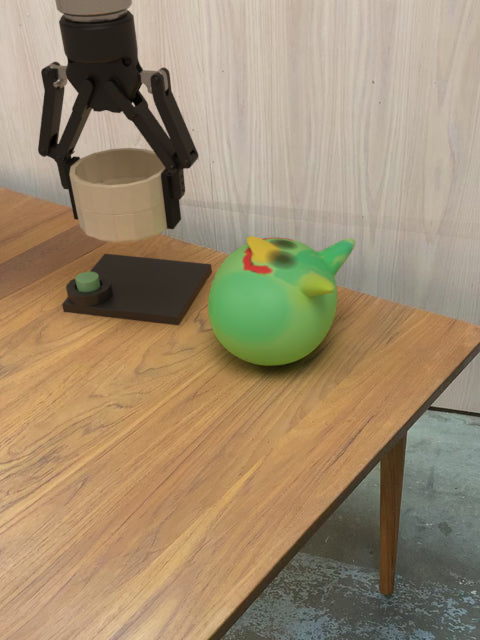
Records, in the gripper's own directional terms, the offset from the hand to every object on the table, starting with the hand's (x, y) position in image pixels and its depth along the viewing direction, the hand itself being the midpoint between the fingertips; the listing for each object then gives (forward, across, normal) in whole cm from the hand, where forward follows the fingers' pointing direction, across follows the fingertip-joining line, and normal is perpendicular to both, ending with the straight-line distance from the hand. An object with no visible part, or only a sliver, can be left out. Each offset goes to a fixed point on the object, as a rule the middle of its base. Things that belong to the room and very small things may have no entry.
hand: (127, 219), depth 93 cm
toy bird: (+16, +18, 0) cm, 24 cm away
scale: (+16, -5, +10) cm, 19 cm away
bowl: (+1, 0, 0) cm, 1 cm away
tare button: (+13, -10, +5) cm, 18 cm away
